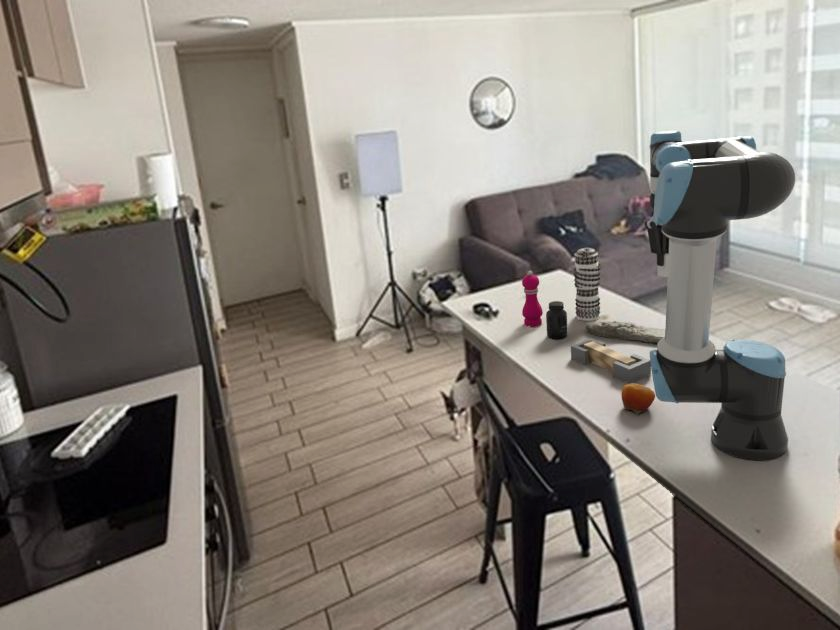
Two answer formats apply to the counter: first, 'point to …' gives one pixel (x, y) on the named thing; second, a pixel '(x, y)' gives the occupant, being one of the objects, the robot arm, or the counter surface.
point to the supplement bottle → (556, 321)
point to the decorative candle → (587, 284)
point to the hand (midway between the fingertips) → (663, 275)
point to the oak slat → (606, 356)
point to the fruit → (637, 397)
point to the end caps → (615, 363)
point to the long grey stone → (625, 331)
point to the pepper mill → (531, 301)
